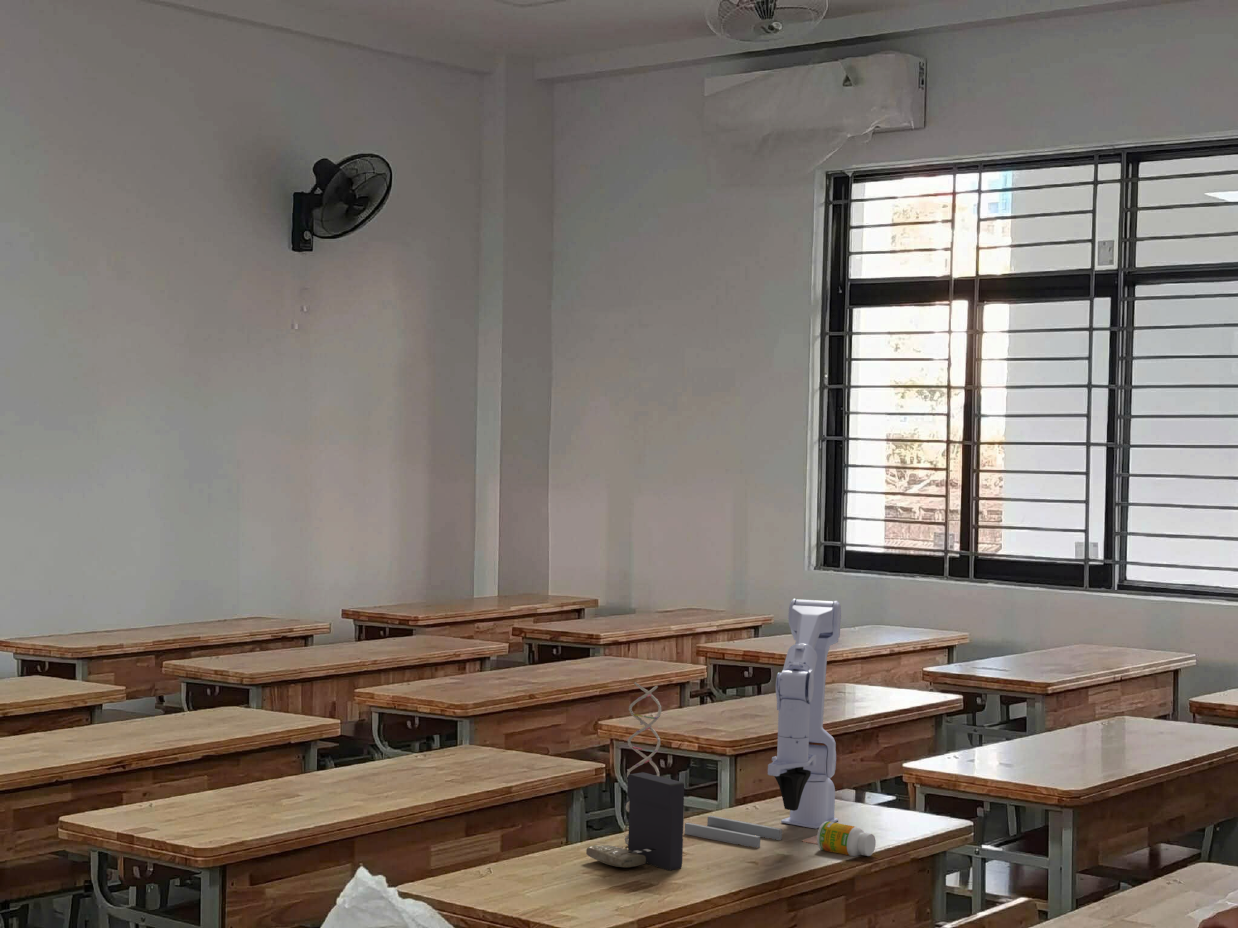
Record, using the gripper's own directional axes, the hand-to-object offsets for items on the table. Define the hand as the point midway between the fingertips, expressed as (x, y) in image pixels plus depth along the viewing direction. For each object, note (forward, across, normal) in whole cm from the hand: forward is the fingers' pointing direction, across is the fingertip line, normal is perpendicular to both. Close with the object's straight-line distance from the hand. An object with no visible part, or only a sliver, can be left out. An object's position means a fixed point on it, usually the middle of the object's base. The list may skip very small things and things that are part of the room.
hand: (791, 809), depth 286 cm
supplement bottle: (+4, -3, +5) cm, 8 cm away
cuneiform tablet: (+5, +33, -10) cm, 34 cm away
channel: (+7, 0, -12) cm, 14 cm away
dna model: (+7, +19, -20) cm, 29 cm away
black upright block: (+7, +26, -12) cm, 30 cm away
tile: (+7, -10, +4) cm, 13 cm away
